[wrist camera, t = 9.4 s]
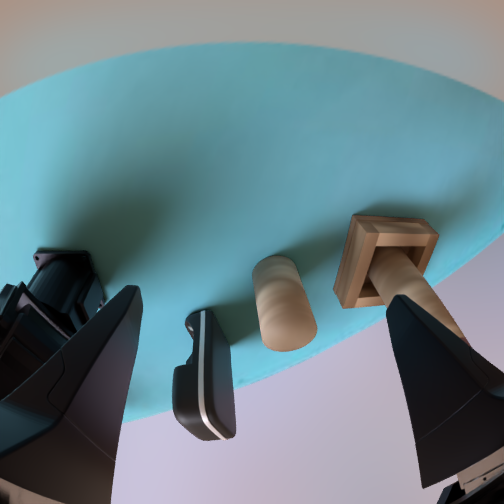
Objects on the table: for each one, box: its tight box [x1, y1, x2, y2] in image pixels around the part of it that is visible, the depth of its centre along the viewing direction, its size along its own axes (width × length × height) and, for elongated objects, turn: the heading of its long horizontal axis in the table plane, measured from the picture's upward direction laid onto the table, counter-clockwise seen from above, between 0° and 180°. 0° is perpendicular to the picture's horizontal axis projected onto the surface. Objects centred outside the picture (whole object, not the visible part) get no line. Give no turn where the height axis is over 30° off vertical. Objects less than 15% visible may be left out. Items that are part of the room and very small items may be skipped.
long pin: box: [367, 246, 471, 347], centre depth 20 cm, size 4×4×13 cm
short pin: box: [252, 256, 317, 352], centre depth 23 cm, size 4×4×7 cm
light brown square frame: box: [333, 215, 439, 309], centre depth 25 cm, size 8×8×3 cm
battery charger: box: [172, 310, 236, 441], centre depth 24 cm, size 7×4×11 cm, turn 13°
